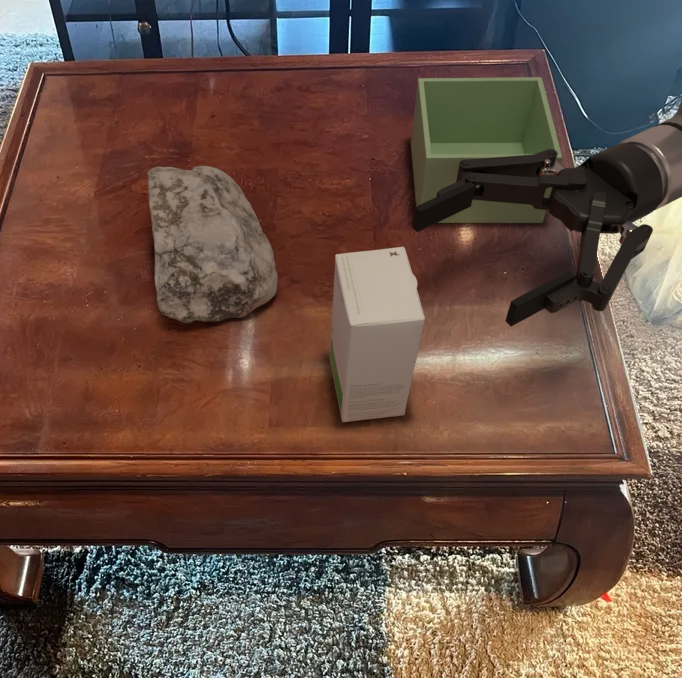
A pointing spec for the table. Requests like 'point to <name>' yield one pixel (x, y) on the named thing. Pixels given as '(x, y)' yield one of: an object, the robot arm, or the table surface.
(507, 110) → the bin
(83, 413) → the table surface
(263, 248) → the decorative stone
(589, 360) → the table surface
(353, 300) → the cosmetic box
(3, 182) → the table surface
